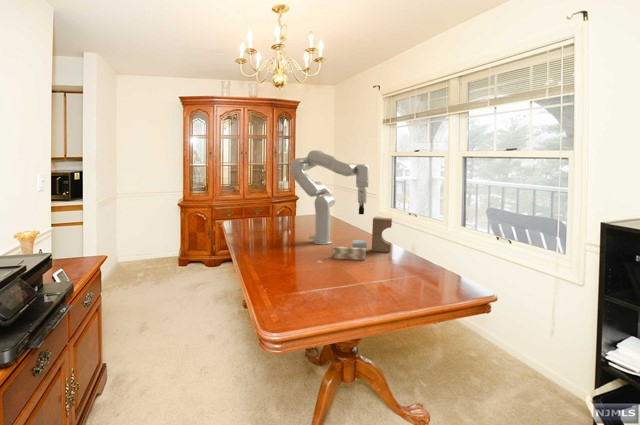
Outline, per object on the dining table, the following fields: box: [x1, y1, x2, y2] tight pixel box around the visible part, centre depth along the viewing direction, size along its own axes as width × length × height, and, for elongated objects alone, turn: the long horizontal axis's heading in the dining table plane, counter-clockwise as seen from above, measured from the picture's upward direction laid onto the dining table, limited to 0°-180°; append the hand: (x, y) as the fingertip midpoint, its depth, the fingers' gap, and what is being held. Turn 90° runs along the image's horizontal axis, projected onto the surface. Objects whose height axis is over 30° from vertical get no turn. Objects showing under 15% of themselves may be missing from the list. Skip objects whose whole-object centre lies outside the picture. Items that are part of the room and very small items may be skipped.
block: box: [351, 239, 367, 255], centre depth 217 cm, size 8×8×6 cm
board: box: [332, 246, 367, 261], centre depth 202 cm, size 18×3×6 cm, turn 81°
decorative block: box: [371, 216, 393, 253], centre depth 218 cm, size 11×6×20 cm, turn 75°
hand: (361, 214), depth 225 cm, fingers closed
